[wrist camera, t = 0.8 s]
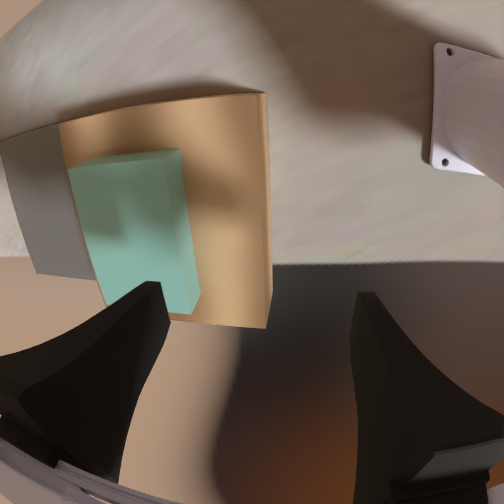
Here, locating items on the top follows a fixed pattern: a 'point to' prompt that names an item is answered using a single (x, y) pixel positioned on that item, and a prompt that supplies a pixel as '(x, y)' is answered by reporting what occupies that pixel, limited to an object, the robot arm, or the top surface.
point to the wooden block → (203, 190)
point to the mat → (45, 203)
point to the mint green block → (138, 225)
